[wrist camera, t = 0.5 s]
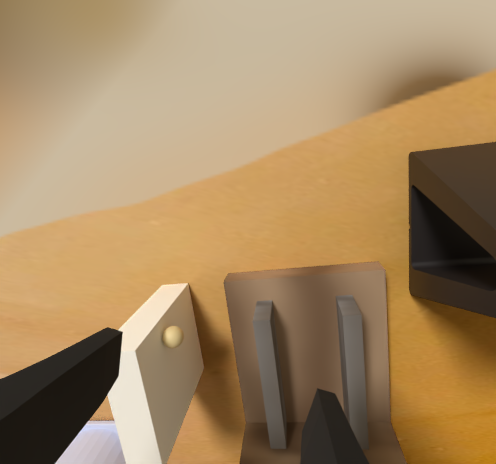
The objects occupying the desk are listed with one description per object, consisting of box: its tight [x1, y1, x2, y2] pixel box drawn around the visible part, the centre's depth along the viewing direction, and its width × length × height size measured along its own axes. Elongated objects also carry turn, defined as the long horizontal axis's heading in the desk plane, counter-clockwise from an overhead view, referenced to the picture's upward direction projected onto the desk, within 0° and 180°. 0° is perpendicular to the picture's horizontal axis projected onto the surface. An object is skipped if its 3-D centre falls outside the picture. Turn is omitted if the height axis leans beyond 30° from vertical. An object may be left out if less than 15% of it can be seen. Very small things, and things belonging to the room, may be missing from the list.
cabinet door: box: [107, 283, 204, 464], centre depth 19 cm, size 3×7×8 cm, turn 8°
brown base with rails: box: [224, 262, 407, 464], centre depth 19 cm, size 10×12×6 cm
